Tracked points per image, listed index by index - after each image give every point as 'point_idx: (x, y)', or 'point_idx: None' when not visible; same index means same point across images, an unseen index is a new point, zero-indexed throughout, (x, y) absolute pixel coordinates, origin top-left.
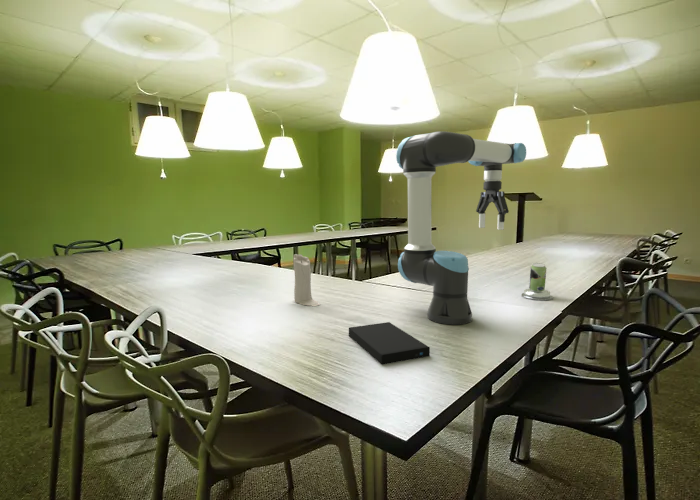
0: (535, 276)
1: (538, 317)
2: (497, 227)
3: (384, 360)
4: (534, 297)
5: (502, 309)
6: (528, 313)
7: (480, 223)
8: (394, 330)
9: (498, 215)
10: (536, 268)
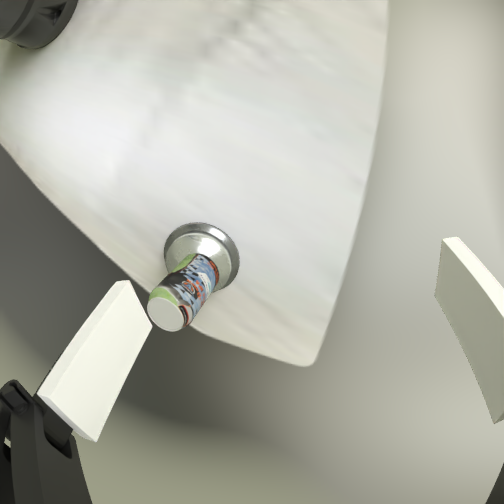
0: (164, 278)
1: (48, 175)
2: (116, 293)
3: None
4: (173, 241)
5: (87, 120)
6: (66, 167)
7: (464, 273)
8: None
9: (45, 386)
10: (151, 295)
